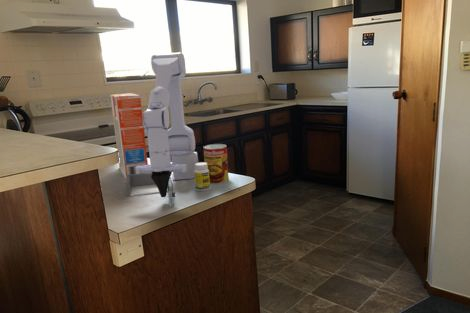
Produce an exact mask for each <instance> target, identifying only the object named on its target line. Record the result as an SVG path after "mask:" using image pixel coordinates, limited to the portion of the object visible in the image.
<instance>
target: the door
mask: <svg viewBox="0 0 470 313" xmlns="http://www.w3.org/2000/svg"><path fill="white" fill-rule="evenodd" d="M168 196H169V204H170V207H174V199H173V198H176V192H175V191H173V179H172V176H170V179H169V192H168Z"/></svg>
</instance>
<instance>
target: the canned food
mask: <svg viewBox="0 0 470 313" xmlns="http://www.w3.org/2000/svg"><path fill="white" fill-rule="evenodd" d="M203 156H204V157H203V158H204V161H203V162H205V163H207V165H208V168H207V169H209V178H210V184H213V185H214V184H215V185H216V184H217V185H218V184H223V183H226V182H228V181H229V165H228V148H227V145H226V144H223V143H213V144H207V145H205V146H204V145H203Z"/></svg>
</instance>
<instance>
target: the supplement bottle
mask: <svg viewBox="0 0 470 313" xmlns="http://www.w3.org/2000/svg"><path fill="white" fill-rule="evenodd" d="M207 168H208V165H207V163H205V161H203V162H201V161H200V162H198V163H196V164H195V169H196V170H195V171H194V175H195V178H194V185H195V186H194V187H195V190H196V192H197V191H198V192H204V191H205V192H206V191H208V190H210V189H211V183H210V178H209V169H207Z"/></svg>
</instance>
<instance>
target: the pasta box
mask: <svg viewBox="0 0 470 313" xmlns="http://www.w3.org/2000/svg"><path fill="white" fill-rule="evenodd" d="M109 98H110V104H111V114H112V121H113V128H114V135H115V136H114V138H115V143H116V144H115V145H116V150H117V149H118V151H119V158H120V163H119V162H118V166H119V170H120V171H121V173H122V175H123V178H125V180H126V177H127V175H130V174H136V168H135V167H137V166H143V165H149V163H148V155H147V154H148V153H147V146H146V134H145V128H144V126H143V108H142V99H141V95H140V94H136V93H133V92H132V93H131V92H130V93H116V94H110V95H109Z"/></svg>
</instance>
